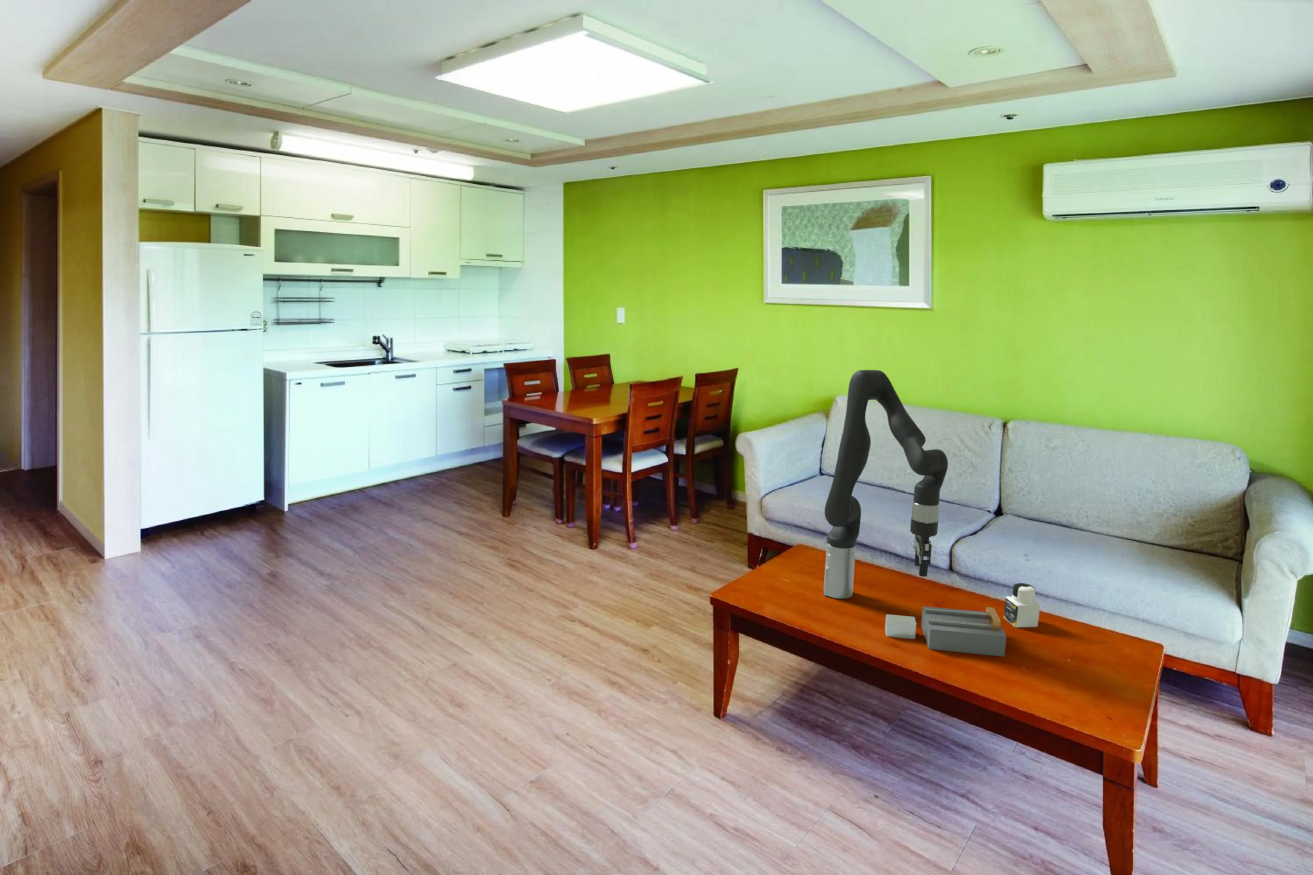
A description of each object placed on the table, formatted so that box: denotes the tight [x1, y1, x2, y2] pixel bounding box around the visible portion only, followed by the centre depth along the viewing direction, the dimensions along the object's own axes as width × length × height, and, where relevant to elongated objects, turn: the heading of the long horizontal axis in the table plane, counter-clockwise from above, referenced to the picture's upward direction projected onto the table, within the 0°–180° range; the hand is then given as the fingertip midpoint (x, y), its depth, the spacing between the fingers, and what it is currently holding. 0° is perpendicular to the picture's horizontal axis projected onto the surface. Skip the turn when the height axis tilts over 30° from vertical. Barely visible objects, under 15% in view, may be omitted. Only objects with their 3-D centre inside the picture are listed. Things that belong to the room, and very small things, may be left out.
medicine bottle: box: [1003, 582, 1041, 628], centre depth 234 cm, size 7×7×12 cm
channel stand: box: [920, 606, 1007, 657], centre depth 222 cm, size 20×16×9 cm
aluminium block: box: [884, 614, 917, 640], centre depth 226 cm, size 8×5×5 cm, turn 78°
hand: (920, 570), depth 226 cm, fingers open, 8 cm apart
